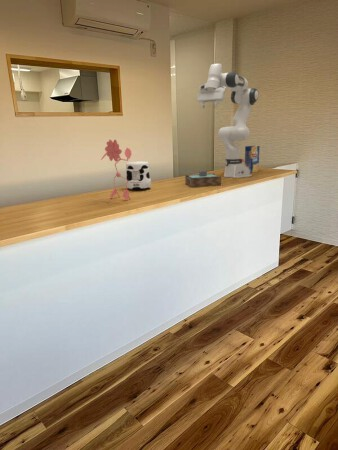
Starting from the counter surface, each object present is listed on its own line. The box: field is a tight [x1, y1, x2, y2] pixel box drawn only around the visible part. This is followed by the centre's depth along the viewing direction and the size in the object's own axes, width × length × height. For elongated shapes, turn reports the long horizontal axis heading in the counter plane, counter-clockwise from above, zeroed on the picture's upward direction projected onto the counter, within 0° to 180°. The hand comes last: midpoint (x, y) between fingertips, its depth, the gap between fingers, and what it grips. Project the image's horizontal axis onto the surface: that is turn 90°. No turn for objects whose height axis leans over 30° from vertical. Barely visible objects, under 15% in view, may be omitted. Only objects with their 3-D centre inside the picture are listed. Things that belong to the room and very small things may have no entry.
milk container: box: [125, 160, 152, 191], centre depth 224 cm, size 17×17×18 cm
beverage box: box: [244, 145, 260, 174], centre depth 286 cm, size 7×11×22 cm, turn 130°
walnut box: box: [184, 172, 222, 188], centre depth 234 cm, size 22×15×6 cm, turn 102°
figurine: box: [100, 139, 132, 205], centre depth 189 cm, size 15×26×35 cm, turn 51°
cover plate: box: [188, 170, 216, 178], centre depth 233 cm, size 18×12×5 cm, turn 102°
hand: (208, 107), depth 225 cm, fingers open, 8 cm apart
